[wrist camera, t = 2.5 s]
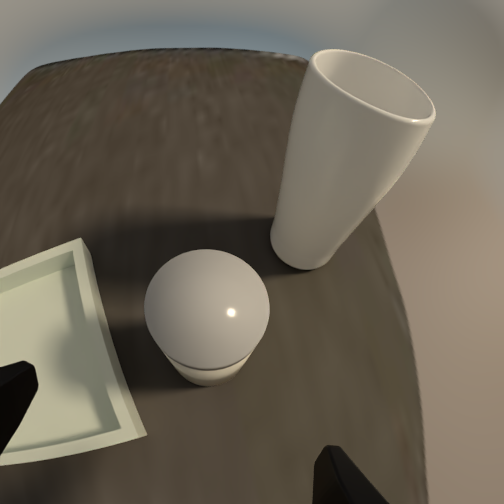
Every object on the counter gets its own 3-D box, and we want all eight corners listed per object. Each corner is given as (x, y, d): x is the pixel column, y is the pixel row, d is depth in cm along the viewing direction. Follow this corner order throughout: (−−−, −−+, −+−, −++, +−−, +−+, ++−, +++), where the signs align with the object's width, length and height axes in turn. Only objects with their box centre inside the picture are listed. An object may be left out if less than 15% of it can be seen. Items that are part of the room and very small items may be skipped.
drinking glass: (274, 290, 23) (354, 119, 10) (249, 215, 26) (286, 42, 13) (352, 271, 24) (462, 129, 11) (321, 204, 27) (388, 56, 14)
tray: (-6, 466, 12) (-25, 467, 10) (-36, 304, 18) (-52, 292, 16) (147, 435, 16) (139, 437, 14) (91, 254, 22) (81, 237, 20)
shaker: (187, 397, 18) (170, 386, 10) (159, 329, 20) (129, 271, 12) (257, 368, 20) (291, 336, 12) (227, 304, 22) (238, 234, 14)
